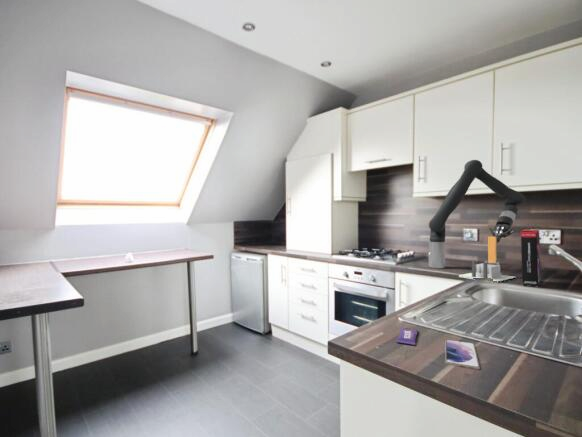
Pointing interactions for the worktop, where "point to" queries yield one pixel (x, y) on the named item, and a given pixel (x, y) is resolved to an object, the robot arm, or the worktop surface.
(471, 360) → the smartphone
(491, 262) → the retention strap
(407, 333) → the snack package
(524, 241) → the graphics card box
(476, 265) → the heatsink board
